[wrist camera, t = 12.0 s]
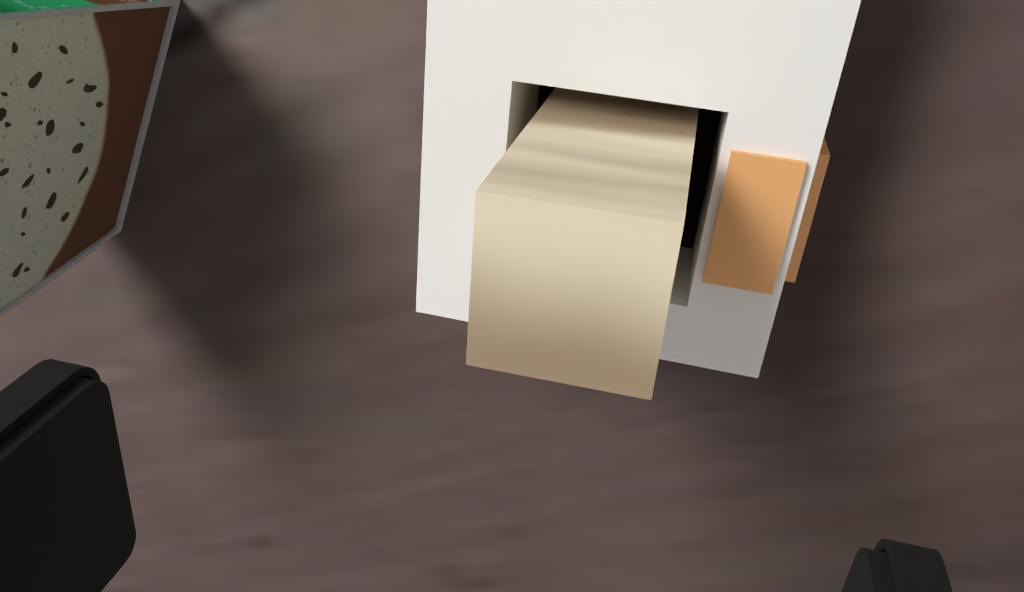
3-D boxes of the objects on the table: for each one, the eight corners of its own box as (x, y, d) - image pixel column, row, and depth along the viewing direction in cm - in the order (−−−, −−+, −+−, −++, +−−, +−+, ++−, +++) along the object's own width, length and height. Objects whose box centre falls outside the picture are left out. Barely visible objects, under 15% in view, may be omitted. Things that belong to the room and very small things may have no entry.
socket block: (495, -426, 20) (443, -492, 16) (959, -406, 18) (1016, -472, 15) (454, 257, 28) (413, 314, 25) (767, 314, 27) (773, 385, 23)
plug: (564, 76, 25) (475, 190, 16) (701, 93, 24) (684, 222, 15) (551, 201, 27) (465, 364, 18) (677, 221, 26) (651, 400, 17)
